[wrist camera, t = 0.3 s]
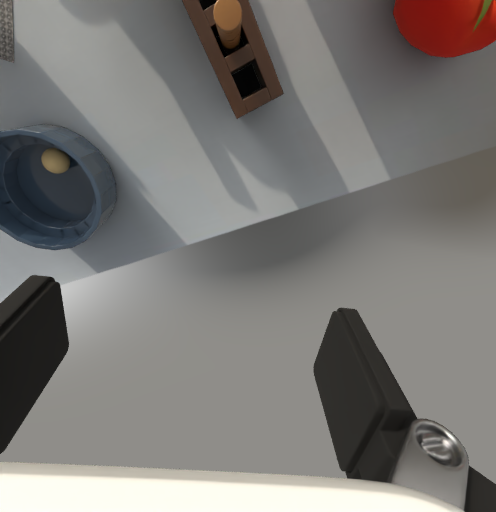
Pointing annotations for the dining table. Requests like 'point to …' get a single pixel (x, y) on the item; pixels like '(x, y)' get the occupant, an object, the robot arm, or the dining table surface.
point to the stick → (228, 23)
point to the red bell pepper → (447, 25)
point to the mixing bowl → (52, 188)
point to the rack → (237, 57)
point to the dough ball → (55, 160)
